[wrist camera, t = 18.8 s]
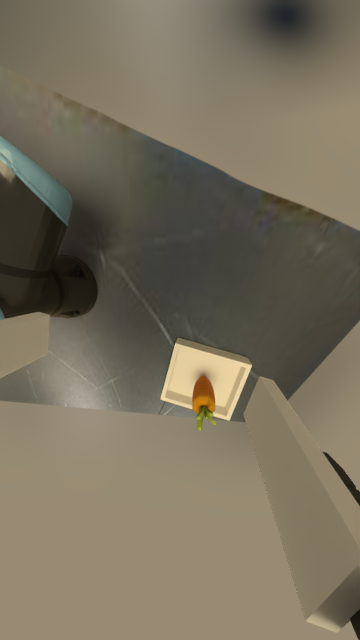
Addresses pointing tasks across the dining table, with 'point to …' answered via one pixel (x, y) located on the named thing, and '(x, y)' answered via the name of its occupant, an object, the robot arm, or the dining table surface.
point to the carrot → (203, 400)
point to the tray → (215, 365)
